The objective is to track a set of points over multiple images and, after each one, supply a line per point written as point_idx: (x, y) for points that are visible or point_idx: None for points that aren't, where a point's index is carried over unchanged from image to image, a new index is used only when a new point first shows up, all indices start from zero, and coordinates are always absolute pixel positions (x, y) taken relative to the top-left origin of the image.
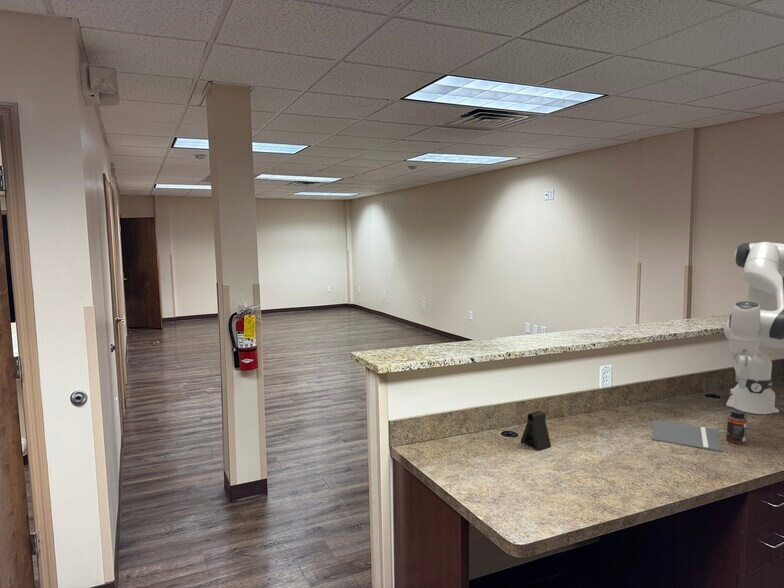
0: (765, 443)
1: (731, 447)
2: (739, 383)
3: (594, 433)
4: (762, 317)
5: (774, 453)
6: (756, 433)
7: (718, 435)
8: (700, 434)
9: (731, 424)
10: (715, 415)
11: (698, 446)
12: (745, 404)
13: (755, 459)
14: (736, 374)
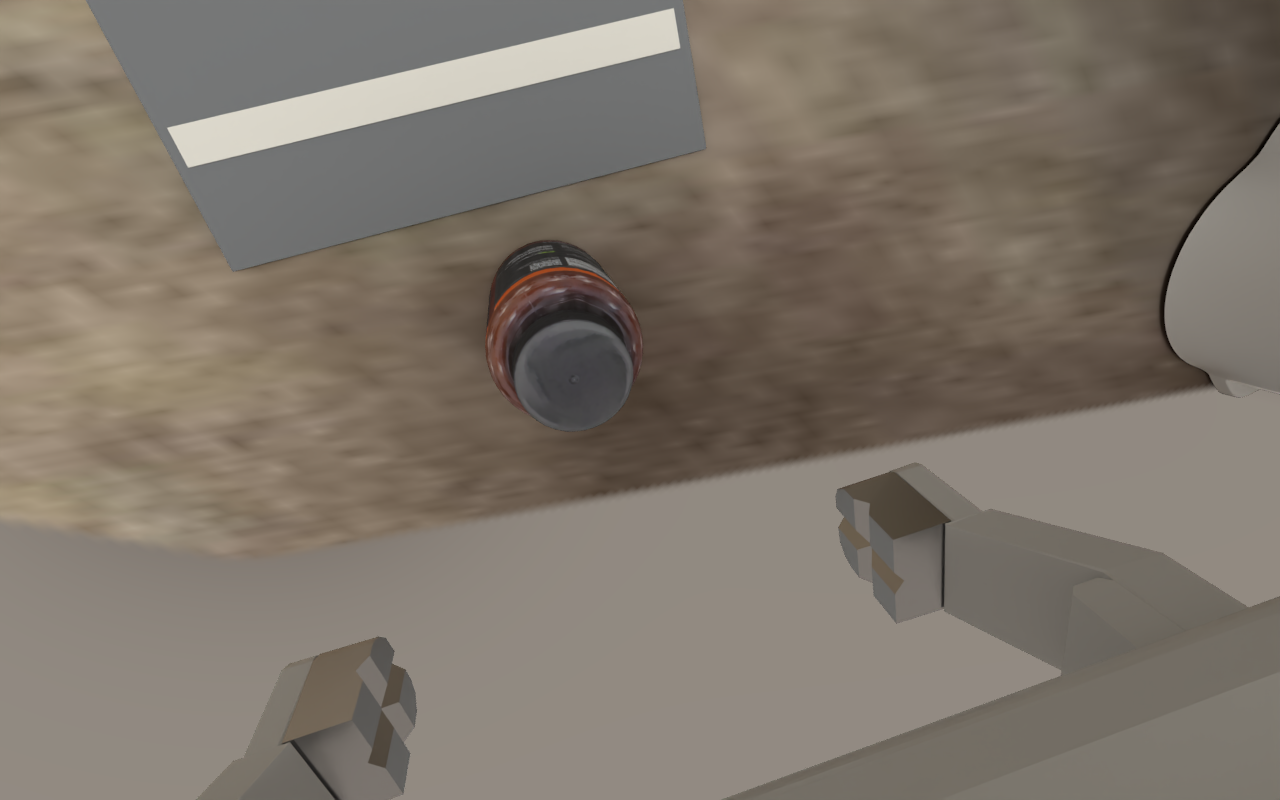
0: (644, 438)
1: (397, 299)
2: (227, 770)
3: None
4: None
5: (502, 503)
6: (798, 368)
7: (565, 179)
8: (479, 43)
9: (493, 308)
10: (1052, 69)
11: (139, 86)
12: (1253, 244)
13: (295, 453)
14: (998, 551)
